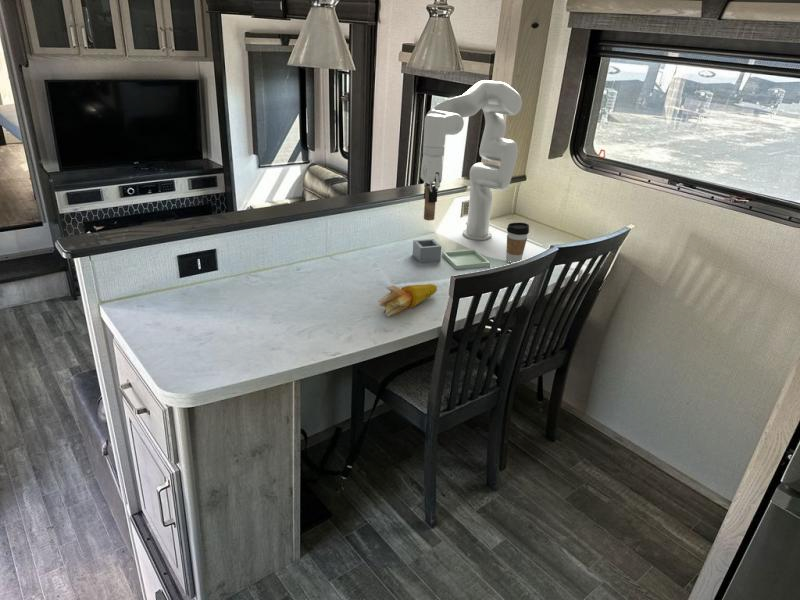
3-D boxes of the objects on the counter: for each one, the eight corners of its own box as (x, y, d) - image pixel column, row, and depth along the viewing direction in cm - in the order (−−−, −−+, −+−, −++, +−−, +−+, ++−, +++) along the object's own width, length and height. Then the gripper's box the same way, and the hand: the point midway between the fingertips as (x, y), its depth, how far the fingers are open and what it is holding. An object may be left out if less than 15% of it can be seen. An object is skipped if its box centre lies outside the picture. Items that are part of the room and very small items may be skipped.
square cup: (412, 257, 227) (413, 240, 224) (432, 255, 229) (433, 238, 226) (419, 265, 220) (420, 248, 217) (440, 263, 222) (441, 246, 219)
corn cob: (434, 307, 197) (383, 322, 179) (420, 290, 200) (369, 303, 182) (446, 291, 192) (395, 304, 174) (432, 274, 195) (380, 285, 177)
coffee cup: (526, 265, 224) (531, 228, 217) (504, 264, 224) (509, 227, 217) (522, 257, 232) (527, 221, 225) (501, 256, 232) (506, 220, 225)
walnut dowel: (422, 217, 218) (424, 186, 213) (432, 216, 219) (434, 185, 214) (425, 220, 215) (427, 189, 209) (435, 220, 216) (438, 188, 211)
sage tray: (441, 257, 227) (442, 251, 226) (474, 255, 232) (474, 249, 230) (455, 271, 216) (456, 265, 214) (489, 268, 220) (490, 262, 219)
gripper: (415, 146, 212) (413, 194, 220) (432, 156, 198) (428, 207, 206) (434, 145, 214) (431, 193, 222) (452, 155, 200) (448, 206, 208)
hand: (430, 199), depth 214 cm, fingers closed on walnut dowel, 4 cm apart
